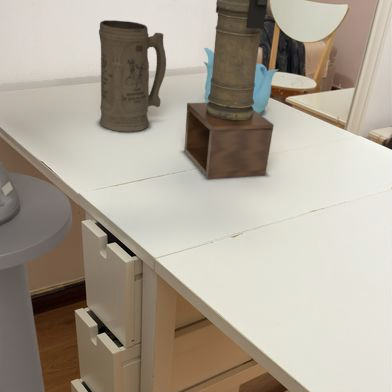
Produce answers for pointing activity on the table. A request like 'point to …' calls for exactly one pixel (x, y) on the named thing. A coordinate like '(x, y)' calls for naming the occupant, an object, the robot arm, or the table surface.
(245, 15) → the container
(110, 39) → the beer stein
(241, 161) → the shelf
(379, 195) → the table surface
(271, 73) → the teapot
